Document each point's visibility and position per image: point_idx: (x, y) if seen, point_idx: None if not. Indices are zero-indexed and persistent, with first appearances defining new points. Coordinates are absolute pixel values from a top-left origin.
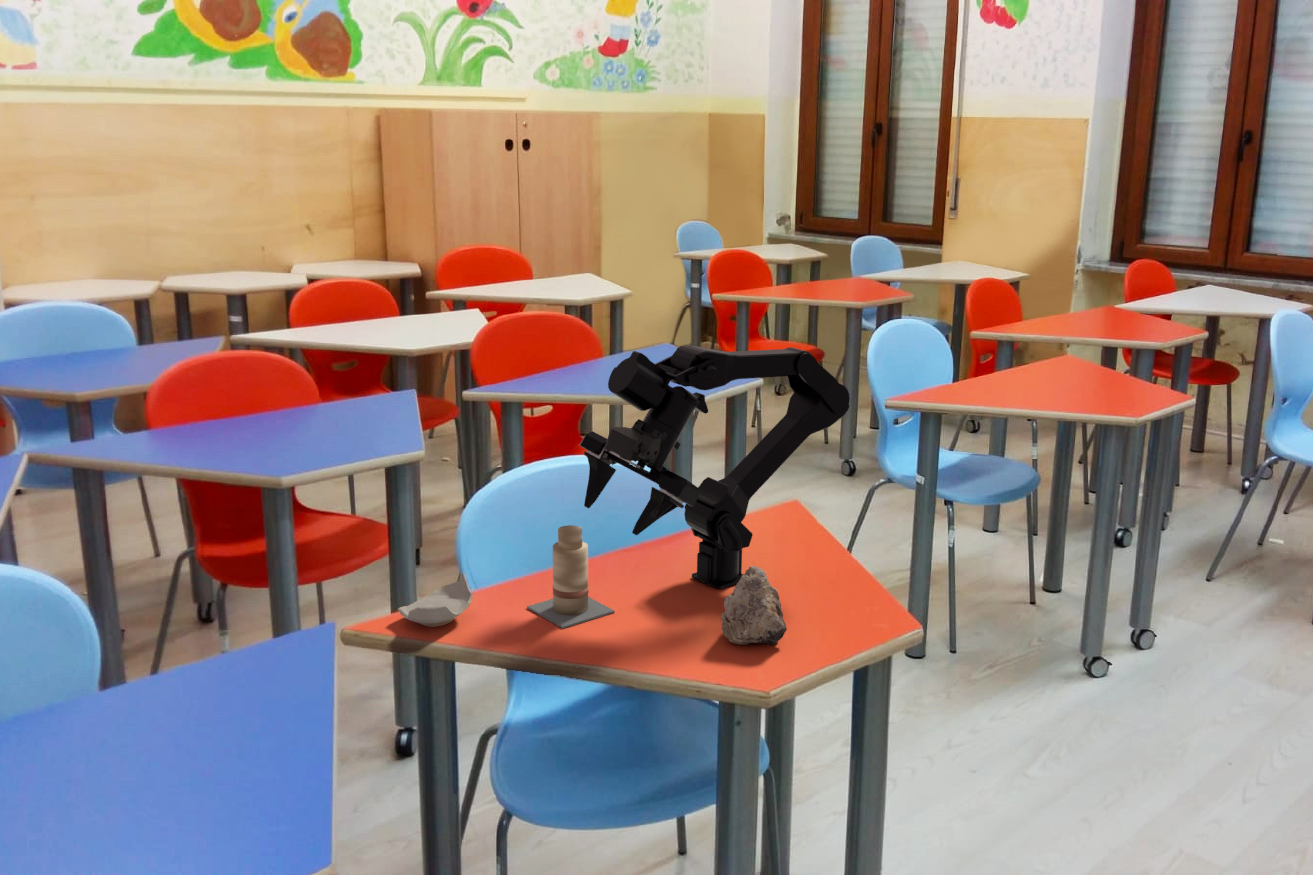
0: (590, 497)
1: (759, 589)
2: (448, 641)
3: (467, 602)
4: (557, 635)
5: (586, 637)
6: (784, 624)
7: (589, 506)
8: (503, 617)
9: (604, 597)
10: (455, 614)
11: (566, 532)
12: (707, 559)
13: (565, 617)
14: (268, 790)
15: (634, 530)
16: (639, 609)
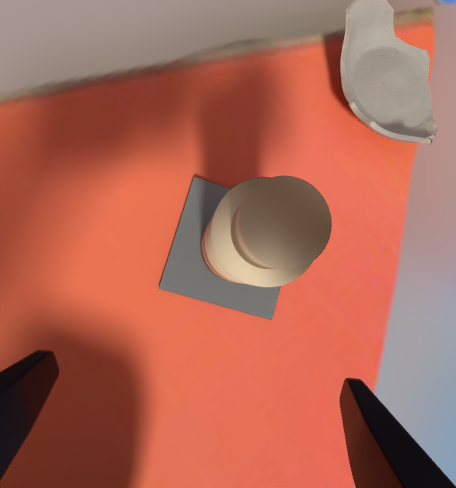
0: (363, 425)
1: None
2: (308, 52)
3: (356, 106)
4: (184, 152)
5: (137, 172)
6: None
7: (342, 404)
8: (303, 162)
9: (218, 335)
10: (340, 66)
11: (276, 185)
12: None
13: (214, 210)
14: None
15: (33, 357)
16: (126, 330)
